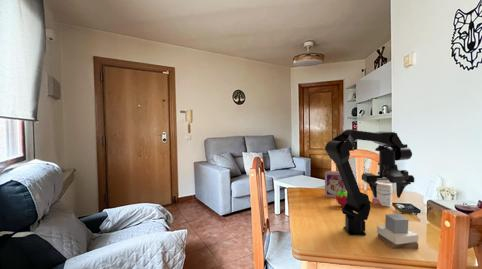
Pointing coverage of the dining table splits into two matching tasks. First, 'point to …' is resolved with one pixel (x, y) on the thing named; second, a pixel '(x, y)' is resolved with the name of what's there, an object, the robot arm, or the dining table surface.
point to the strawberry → (341, 197)
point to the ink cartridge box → (383, 193)
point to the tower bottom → (399, 246)
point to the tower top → (397, 235)
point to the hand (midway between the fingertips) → (386, 197)
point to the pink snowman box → (333, 183)
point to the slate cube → (396, 223)
